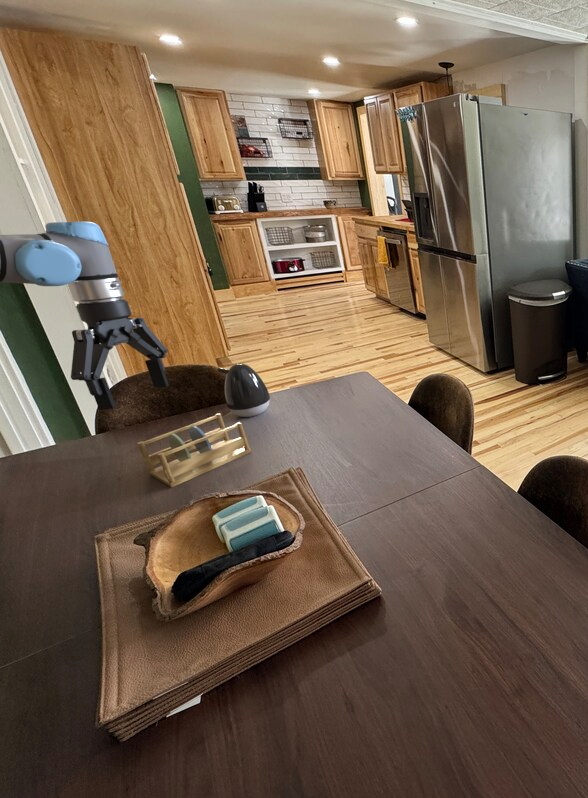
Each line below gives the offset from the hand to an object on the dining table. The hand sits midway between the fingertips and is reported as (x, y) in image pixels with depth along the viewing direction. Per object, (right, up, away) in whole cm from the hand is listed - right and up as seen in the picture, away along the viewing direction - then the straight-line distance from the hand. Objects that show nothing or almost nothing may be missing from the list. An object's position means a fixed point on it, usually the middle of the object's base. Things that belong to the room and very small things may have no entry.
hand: (136, 397), depth 103 cm
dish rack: (+9, -16, +7) cm, 19 cm away
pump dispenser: (+1, -7, +34) cm, 34 cm away
